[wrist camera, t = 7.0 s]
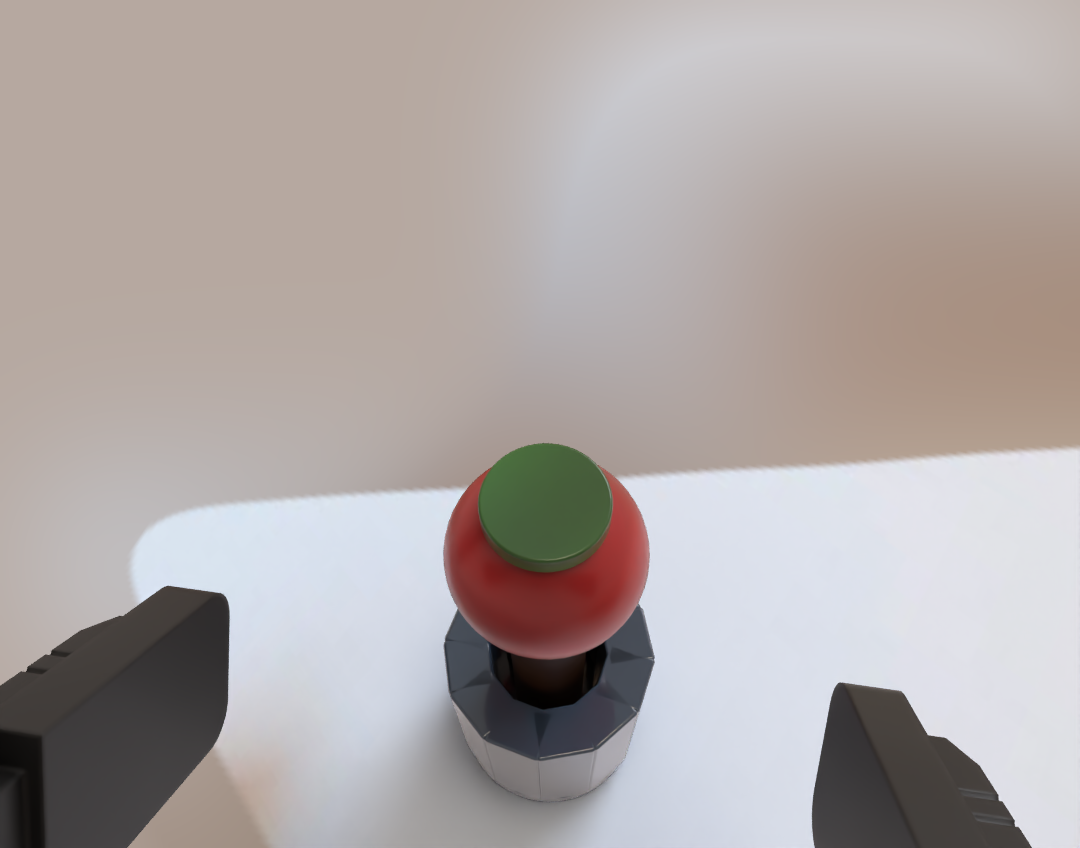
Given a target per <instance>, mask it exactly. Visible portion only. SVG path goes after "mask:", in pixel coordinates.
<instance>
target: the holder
mask: <svg viewBox="0 0 1080 848" xmlns="http://www.w3.org/2000/svg"><path fill="white" fill-rule="evenodd" d="M444 654H445V663H446V672H447V682H448V691H449V694H450V697H451V700H452V703H453V706H454V708H455V711H456V714H457V717H458V719H459V722H460V725H461V728H462V731H463V733H464V736H465V739H466V742H467V744H468V747H469V748H470V750H471V751H472V752H473V754H474V755H475V757H476V759H477V760H478V762H479V763H480V765H481V766H482V768H483V769H484V770H485V771H486V773H487V774H488V775H489V776H490V777H491V778H492V779H493V780H494V781H495V782H497V783H498V784H499V785H500V786H502V787H503V788H505V789H506V790H508V791H510V792H512V793H514V794H516V795H518V796H521V797H524V798H527V799H530V800H536V801H542V802H556V801H565V800H569V799H573V798H576V797H579V796H581V795H584V794H586V793H588V792H590V791H591V790H593V789H595V788H596V787H598V786H599V785H600V784H602V783H603V782H604V781H605V780H606V779H607V778H608V777H609V776H610V775H611V774H612V773H613V772H614V771H615V770H616V768H617V767H618V765H620V764H621V763H622V762H623V760H624V759H625V757H626V754H627V751H628V747H629V744H630V741H631V738H632V734H633V731H634V728H635V725H636V721H637V718H638V715H639V712H640V708H641V705H642V702H643V699H644V695H645V692H646V689H647V686H648V682H649V679H650V676H651V672H652V669H653V666H654V663H655V662H654V658H655V657H654V653H653V649H652V645H651V640H650V636H649V632H648V628H647V624H646V620H645V616H644V612H643V609H642V608H641V607H640V605H639V604H638V605H637V606H636V608H635V610H634V611H633V613H632V615H631V616H630V617H629V619H628V620H627V621H626V622H625V624H624V625H623V626H622V627H621V628H620V629H619V630H618V631H617V632H616V633H615V634H614V635H612V636H611V637H610V638H609V639H607V640H606V641H605V642H603V643H602V644H600V645H598V646H597V647H595V648H593V649H591V650H589V651H586V656H585V667H584V677H583V688H582V697H581V698H580V699H579V700H578V701H577V702H575V703H574V704H571V705H566V706H560V707H554V708H548V709H540V708H537V707H535V706H532V705H529V704H527V703H524V702H521V701H519V700H517V696H516V689H515V681H514V674H513V666H512V658H511V653H509V652H507V651H505V650H502V649H500V648H498V647H497V646H495V645H493V644H492V643H490V642H488V641H487V640H486V639H485V638H483V637H482V636H481V635H480V634H478V633H477V632H476V631H475V630H474V629H473V628H472V627H471V625H470V624H469V623H468V622H467V621H466V620H465V618H464V617H463V616H462V614H461V613H460V611H459V610H458V609H457V612H456V614H455V616H454V618H453V621H452V623H451V625H450V627H449V630H448V632H447V634H446V636H445V642H444Z"/></svg>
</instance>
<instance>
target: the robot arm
mask: <svg viewBox="0 0 1080 848" xmlns="http://www.w3.org/2000/svg"><path fill="white" fill-rule="evenodd" d="M229 617H230V616H229V605H228V601H227V599H226V597H225V596H224V595H223V594H221V593H215V592H208V591H201V590H194V589H187V588H180V587H173V586H166V587H164V588H162V589H160V590H159V591H157V592H156V593H155V594H153V595H152V596H150V597H149V598H148V599H146V600H145V601H144V602H142V603H141V604H139V605H138V606H137V607H135V608H134V609H132V610H131V611H130V612H128V613H127V614H125V615H124V616H118V617H115V618H113V619H110V620H107V621H105V622H102V623H99V624H97V625H94V626H92V627H89V628H86V629H84V630H81V631H79V632H78V633H76V634H75V635H73V636H72V637H70V638H69V639H68V640H66V641H65V642H63V643H62V644H60V645H59V646H57V647H56V648H54V649H53V650H52V651H51V654H50V655H44V656H43V657H41V658H40V659H38V660H37V661H36V662H34V663H33V664H31V665H30V666H28V667H27V671H26V672H20V673H18V674H17V675H15V676H14V677H13V678H11V679H9V680H8V681H7V682H5V683H4V684H2V685H1V686H0V848H127V847H128V846H129V845H130V844H131V843H132V841H133V840H134V839H135V838H136V837H137V836H138V834H139V833H140V832H141V831H142V830H143V828H144V827H145V826H146V825H147V824H148V823H149V821H150V820H151V819H152V818H153V817H154V816H155V814H156V813H157V812H158V811H159V810H160V808H161V807H162V806H163V805H164V804H165V803H166V802H167V800H168V799H169V798H170V797H171V796H172V795H173V793H174V792H175V791H176V790H177V789H178V787H179V786H180V785H181V784H182V783H183V782H184V780H185V779H186V778H187V777H188V776H189V774H190V773H191V772H192V771H193V770H194V769H195V768H196V766H197V765H198V764H199V763H200V762H201V761H202V759H203V758H204V757H205V756H206V755H207V754H208V752H209V751H210V750H211V749H212V747H213V746H214V744H215V742H216V741H217V739H218V737H219V734H220V732H221V729H222V726H223V723H224V720H225V716H226V711H227V704H228V669H229ZM998 796H999V795H998V794H997V792H996V791H995V789H994V788H993V786H992V785H991V783H990V781H989V780H988V778H987V777H986V775H985V774H984V772H983V770H982V769H981V767H980V766H979V765H978V764H977V763H975V762H974V761H973V760H972V759H971V758H969V757H968V756H967V755H966V754H965V753H963V752H962V751H961V750H960V749H958V748H957V747H956V746H955V745H954V744H952V743H951V742H950V741H949V740H947V739H946V738H942V737H935V736H929V735H927V733H926V731H925V730H924V728H923V726H922V724H921V723H920V721H919V719H918V718H917V716H916V714H915V712H914V711H913V709H912V707H911V705H910V704H909V702H908V700H907V698H906V697H905V695H904V694H903V693H902V692H901V691H897V690H890V689H883V688H876V687H869V686H862V685H855V684H848V683H838V684H837V685H836V687H835V689H834V691H833V694H832V697H831V702H830V707H829V712H828V718H827V723H826V729H825V734H824V740H823V745H822V750H821V756H820V761H819V767H818V772H817V778H816V783H815V788H814V795H813V805H812V831H813V840H814V845H815V848H1032V847H1031V846H1030V844H1029V842H1028V841H1027V839H1026V838H1025V836H1024V835H1023V833H1022V831H1021V830H1020V828H1019V827H1015V824H1014V822H1015V820H1014V819H1013V817H1012V816H1011V814H1010V813H1009V811H1008V810H1007V808H1006V806H1005V805H1004V803H1003V802H1002V801H999V800H998Z"/></svg>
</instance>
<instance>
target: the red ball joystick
mask: <svg viewBox="0 0 1080 848" xmlns="http://www.w3.org/2000/svg"><path fill="white" fill-rule="evenodd" d="M443 556H444V570H445V576H446V581H447V584H448V587H449V590H450V593H451V596H452V598H453V600H454V602H455V604H456V606H457V608H458V610H459V611H460V613H461V614H462V616H463V617H464V618H465V620H466V621H467V622H468V623H469V624H470V625H471V627H472V628H473V629H474V630H475V631H476V632H477V633H478V634H480V635H481V636H482V637H483V638H485V639H486V640H487V641H488V642H490V643H492V644H493V645H495V646H497V647H498V648H500V649H502V650H505V651H507V652H509V653H511V658H512V666H513V674H514V681H515V689H516V696H517V700H519V701H521V702H524V703H527V704H529V705H532V706H535V707H537V708H540V709H548V708H554V707H560V706H566V705H571V704H574V703H575V702H577V701H578V700H579V699H580V698H581V697H582V688H583V677H584V667H585V656H586V651H589V650H591V649H593V648H595V647H597V646H598V645H600V644H602V643H603V642H605V641H606V640H607V639H609V638H610V637H611V636H612V635H614V634H615V633H616V632H617V631H618V630H619V629H620V628H621V627H622V626H623V625H624V624H625V622H626V621H627V620H628V619H629V617H630V616H631V615H632V613H633V611H634V610H635V608H636V606H637V605H638V603H639V600H640V598H641V595H642V593H643V590H644V588H645V585H646V581H647V577H648V570H649V558H650V553H649V541H648V535H647V530H646V527H645V523H644V520H643V518H642V515H641V513H640V511H639V509H638V507H637V505H636V503H635V501H634V500H633V498H632V497H631V495H630V494H629V492H628V491H627V490H626V488H625V487H624V486H623V485H622V484H621V483H620V482H619V481H618V480H617V479H616V478H615V477H614V476H613V475H611V474H610V473H609V472H607V471H606V470H604V469H603V468H601V467H600V466H599V465H597V464H596V463H595V462H593V461H592V460H591V459H590V458H589V457H587V456H586V455H585V454H583V453H581V452H579V451H577V450H575V449H573V448H570V447H567V446H563V445H559V444H549V443H542V444H533V445H528V446H525V447H522V448H519V449H516V450H515V451H512V452H510V453H509V454H507V455H505V456H504V457H503V458H501V459H500V460H499V461H498V462H497V463H496V464H495V465H494V466H493V467H491V468H490V469H488V470H487V471H485V472H484V473H483V474H482V475H480V476H479V477H478V478H477V479H476V480H475V481H474V482H473V483H472V484H471V485H470V486H469V487H468V488H467V490H466V491H465V492H464V494H463V495H462V496H461V498H460V500H459V501H458V503H457V505H456V507H455V508H454V510H453V512H452V515H451V517H450V520H449V523H448V527H447V531H446V535H445V540H444V550H443Z"/></svg>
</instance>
